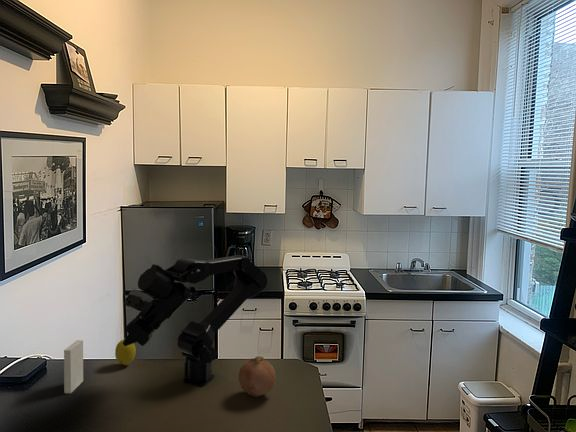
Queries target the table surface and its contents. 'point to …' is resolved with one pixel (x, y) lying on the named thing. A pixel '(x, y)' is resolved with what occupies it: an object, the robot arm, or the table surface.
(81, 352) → the tile
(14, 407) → the table surface
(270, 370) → the onion
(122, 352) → the lemon
